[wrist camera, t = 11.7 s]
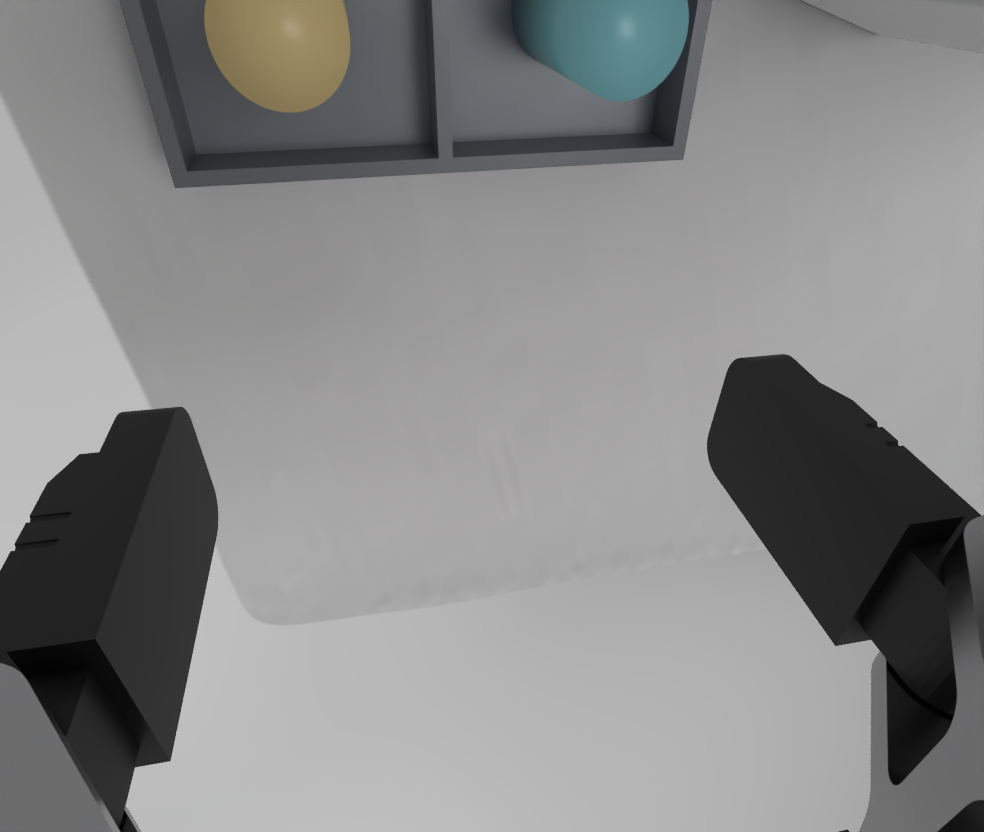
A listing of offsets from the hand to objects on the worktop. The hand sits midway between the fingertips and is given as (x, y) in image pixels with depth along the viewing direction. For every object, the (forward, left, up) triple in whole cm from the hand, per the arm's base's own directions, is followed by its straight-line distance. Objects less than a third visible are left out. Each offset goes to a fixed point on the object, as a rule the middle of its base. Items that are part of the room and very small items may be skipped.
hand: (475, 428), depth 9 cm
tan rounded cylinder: (+3, -4, -23) cm, 23 cm away
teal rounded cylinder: (-8, -4, -23) cm, 24 cm away
